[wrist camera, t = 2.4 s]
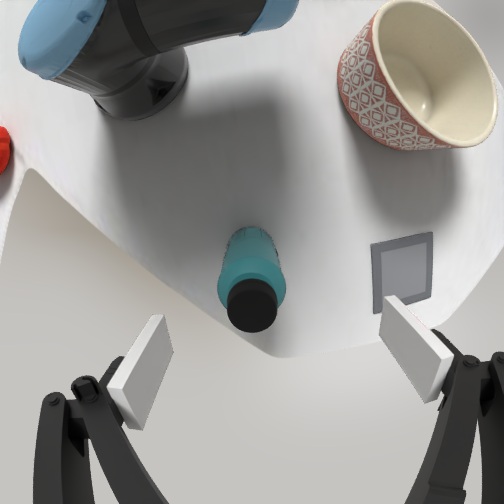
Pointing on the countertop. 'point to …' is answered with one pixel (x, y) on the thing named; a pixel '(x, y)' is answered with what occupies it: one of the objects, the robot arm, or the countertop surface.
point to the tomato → (4, 148)
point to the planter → (418, 80)
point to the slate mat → (402, 269)
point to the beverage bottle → (251, 280)
